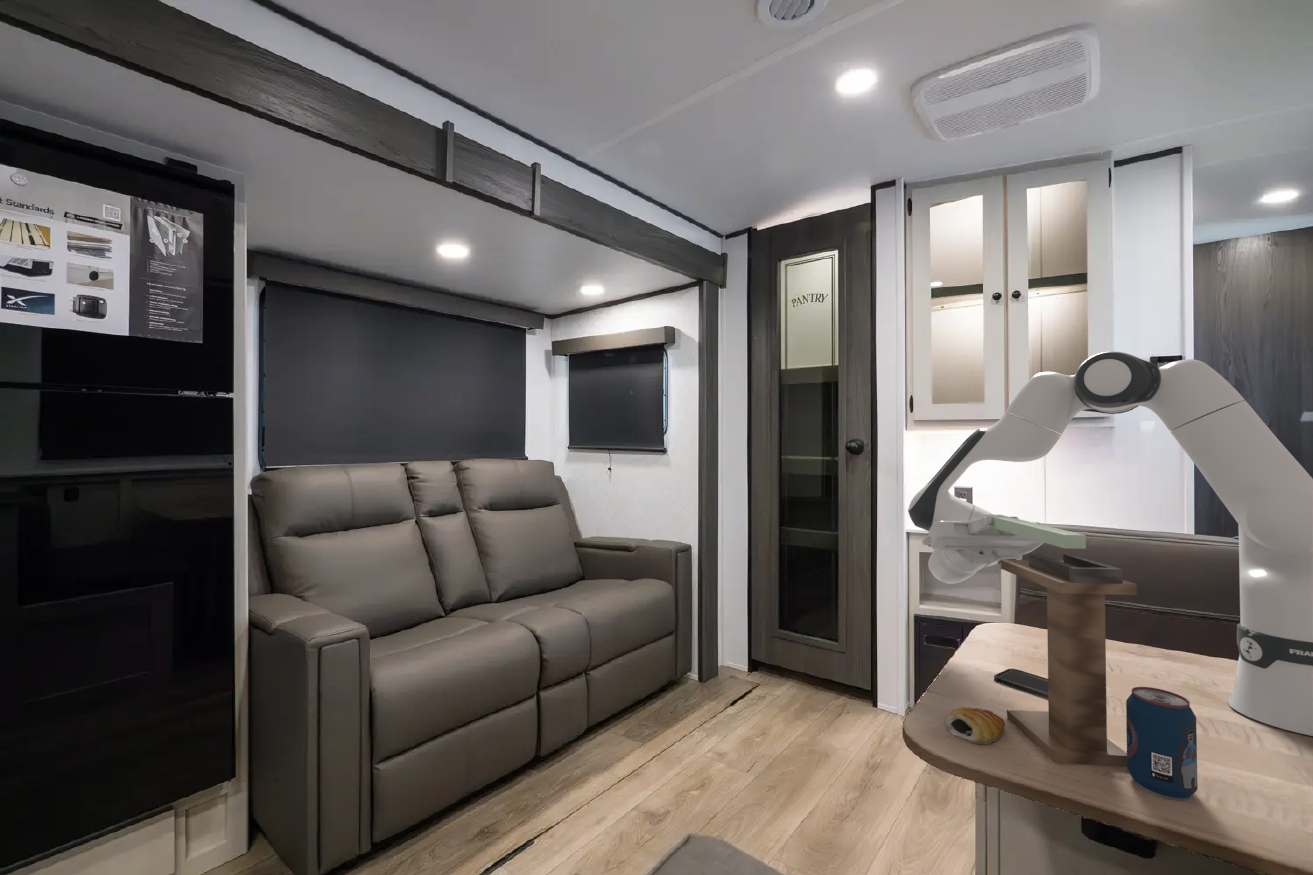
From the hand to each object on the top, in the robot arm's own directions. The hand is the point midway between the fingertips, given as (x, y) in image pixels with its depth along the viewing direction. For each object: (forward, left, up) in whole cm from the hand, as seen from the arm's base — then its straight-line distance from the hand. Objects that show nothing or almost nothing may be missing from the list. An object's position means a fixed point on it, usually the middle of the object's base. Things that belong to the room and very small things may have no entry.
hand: (1002, 520), depth 103 cm
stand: (0, +17, -32) cm, 36 cm away
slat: (0, +8, -1) cm, 8 cm away
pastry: (+12, +16, -32) cm, 38 cm away
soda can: (-5, +28, -32) cm, 43 cm away
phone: (-8, -2, -32) cm, 33 cm away
